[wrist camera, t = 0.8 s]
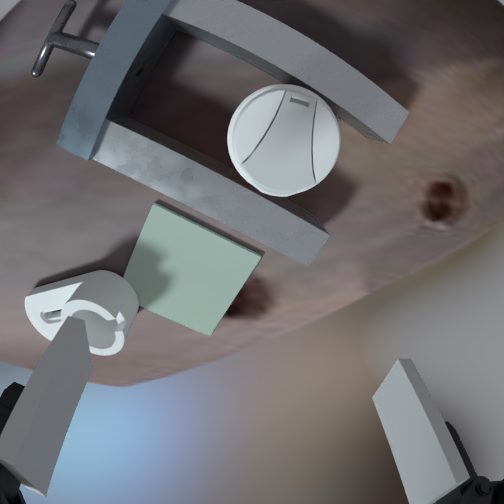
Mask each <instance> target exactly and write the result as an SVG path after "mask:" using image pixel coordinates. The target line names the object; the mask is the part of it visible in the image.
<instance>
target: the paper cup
mask: <svg viewBox="0 0 504 504" xmlns="http://www.w3.org/2000/svg"><path fill="white" fill-rule="evenodd" d="M340 140H341V138H340V129H339V126H338V122H337V120H336V117H335V115H334V113H333V112H332V110H331V108H330V107H329V106H328V105H327V103H326V102H325V101H324V100H323V99H322V98H320V97H319V96H318V95H317V94H315V93H313V92H312V91H310V90H308V89H305V88H303V87H300V86H295V85H289V84H279V85H272V86H268V87H264V88H262V89H260V90H257V91H255V92H254V93H252V94H251V95H249V96H248V97H247V98H246V99H245V100H244V101H243V102H242V103H241V104H240V105H239V106H238V108H237V109H236V111H235V112H234V114H233V116H232V118H231V121H230V124H229V128H228V134H227V144H228V150H229V154H230V157H231V160H232V162H233V164H234V166H235V168H236V169H237V171H238V172H239V173H240V175H241V176H242V177H243V178H244V179H245V180H246V181H247V182H249V183H250V184H251V185H253V186H254V187H256V188H257V189H258V190H259V191H261V192H262V193H265V194H268V195H272V196H279V197H287V196H290V195H293V194H296V193H300V192H303V191H306V190H308V189H310V188H312V187H314V186H315V185H317V184H318V183H320V182H321V181H322V180H323V179H324V178H325V177H326V176H327V175H328V174H329V172H330V171H331V170H332V168H333V166H334V164H335V162H336V160H337V157H338V154H339V150H340Z"/></svg>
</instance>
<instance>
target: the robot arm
mask: <svg viewBox="0 0 504 504" xmlns="http://www.w3.org/2000/svg"><path fill="white" fill-rule="evenodd" d="M92 369H93V364H92V359H91V354H90V348H89V343H88V337H87V332H86V325H85V320H83V319H79V318H75V317H71V316H68V317H67V318H66V320H65V321H64V323H63V324H62V326H61V327H60V329H59V330H58V332H57V334H56V335H55V337H54V338H53V340H52V342H51V343H50V345H49V346H48V348H47V350H46V351H45V353H44V355H43V356H42V358H41V360H40V361H39V363H38V365H37V366H36V368H35V370H34V372H33V374H32V375H31V377H30V379H29V381H28V382H27V384H26V386H23V385H21V384H18V383H16V382H13V383H12V384H11V385H10V386H8V387H7V388H6V389H5V390H4V391H3V393H2V395H1V397H0V504H26V503H25V500H24V498H23V495H22V493H21V491H20V489H19V487H20V484H21V483H22V484H23V485H24V486H25V487H26V488H28V489H30V490H32V491H34V492H36V493H38V494H40V495H43V496H46V494H47V491H48V487H49V484H50V481H51V477H52V474H53V471H54V468H55V465H56V462H57V459H58V456H59V453H60V450H61V447H62V444H63V442H64V439H65V436H66V433H67V431H68V428H69V425H70V422H71V420H72V417H73V415H74V412H75V410H76V407H77V405H78V402H79V400H80V397H81V395H82V392H83V390H84V388H85V385H86V383H87V380H88V378H89V376H90V374H91V371H92ZM372 398H373V401H374V403H375V406H376V409H377V412H378V414H379V417H380V419H381V422H382V425H383V428H384V430H385V433H386V436H387V439H388V441H389V444H390V447H391V450H392V453H393V455H394V458H395V461H396V464H397V467H398V470H399V473H400V476H401V479H402V482H403V485H404V488H405V491H406V495H407V498H408V501H409V504H432V503H434V502H436V504H504V479H503V480H502V481H492V482H490V481H489V479H487V478H486V477H484V476H479V477H478V475H477V474H476V472H475V470H474V468H473V466H472V463H471V461H470V459H469V457H468V455H467V452H466V450H465V448H463V444H462V442H461V441H460V438H459V436H458V434H457V432H456V430H455V428H454V427H453V426H452V425H451V424H450V423H449V422H444V420H443V418H442V416H441V414H440V412H439V410H438V408H437V406H436V404H435V402H434V400H433V399H432V397H431V395H430V393H429V391H428V389H427V387H426V385H425V383H424V382H423V380H422V378H421V376H420V374H419V372H418V371H417V369H416V367H415V365H414V363H413V362H412V360H411V359H398V360H397V361H396V363H395V364H394V366H393V367H392V369H391V371H390V372H389V374H388V375H387V377H386V378H385V380H384V381H383V383H382V384H381V386H380V387H379V388H378V390H377V391H376V393H375V394H374V396H373V397H372Z"/></svg>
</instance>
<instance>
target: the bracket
mask: <svg viewBox="0 0 504 504" xmlns="http://www.w3.org/2000/svg"><path fill="white" fill-rule="evenodd" d="M138 308H139V301H138V297H137V295H136V292H135V291H134V289H133V287H132V286H131V285H130V284H129V283H128V282H127V281H126V280H125V279H124V278H122V277H121V276H119V275H118V274H116V273H113V272H110V271H105V270H97V271H94V272H90V273H86V274H83V275H79V276H75V277H72V278H68V279H65V280H61V281H57V282H54V283H50V284H47V285H43V286H40V287H36V288H34V289H33V290H32V291H31V292H30V293H29V294H28V296H27V297H26V298H25V309H26V313H27V315H28V318H29V319H30V321H31V323H32V324H33V326H34V327H35V328H36V329H37V330H38V331H39V332H40V333H41V334H42V335H43V336H44V337H46V338H47V339H49V340H51V341H52V340H53V338H54V337H55V335H56V334H57V332H58V330H59V329H60V327H61V326H62V324H63V323H64V321H65V320H66V318H67V317H68V316H71V317H75V318H79V319H83V320H85V325H86V332H87V337H88V343H89V348H90V352H91V353H94V354H97V355H112V354H115V353H117V352H118V351H120V350H121V348H122V347H123V344H124V342H125V340H126V337H127V335H128V332H129V330H130V328H131V325H132V323H133V321H134V319H135V316H136V314H137V312H138ZM60 309H62V310H61V311H56V312H52V311H55V310H60Z"/></svg>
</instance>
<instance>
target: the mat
mask: <svg viewBox="0 0 504 504" xmlns="http://www.w3.org/2000/svg"><path fill="white" fill-rule="evenodd" d="M260 259H261V255H260V254H258V253H256V252H254V251H252V250H250V249H248V248H246V247H244V246H242V245H240V244H238V243H236V242H234V241H232V240H230V239H228V238H226V237H224V236H222V235H220V234H218V233H216V232H213V231H211V230H209V229H207V228H205V227H203V226H201V225H199V224H197V223H195V222H193V221H191V220H189V219H187V218H185V217H183V216H181V215H179V214H177V213H175V212H173V211H171V210H169V209H167V208H165V207H163V206H161V205H159V204H157V203H154V204H153V206H152V208H151V211H150V213H149V215H148V218H147V220H146V222H145V224H144V227H143V229H142V231H141V234H140V236H139V239H138V241H137V243H136V246H135V248H134V251H133V253H132V256H131V258H130V261H129V263H128V266H127V269H126V271H125V274H124V277H123V278H124V279H125V280H126V281H127V282H128V283H129V284H130V285H131V286H132V287H133V289H134V291H135V292H136V295H137V297H138V301H139V306H141V307H143V308H146V309H148V310H150V311H152V312H154V313H157V314H159V315H161V316H163V317H166V318H168V319H170V320H172V321H175V322H177V323H179V324H182V325H184V326H186V327H189V328H191V329H194V330H196V331H198V332H201V333H203V334H206V335H208V336H210V335H211V333H212V332H213V330H214V329H215V327H216V326H217V324H218V323H219V321H220V320H221V318H222V317H223V315H224V314H225V312H226V311H227V309H228V308H229V306H230V305H231V303H232V302H233V300H234V298H235V297H236V295H237V294H238V292H239V291H240V289H241V288H242V286H243V285H244V283H245V282H246V280H247V279H248V277H249V276H250V274H251V273H252V271H253V269H254V268H255V266H256V265H257V263H258V262H259V260H260Z"/></svg>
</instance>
